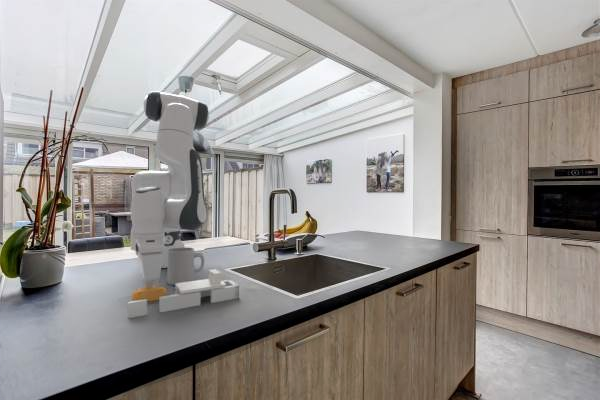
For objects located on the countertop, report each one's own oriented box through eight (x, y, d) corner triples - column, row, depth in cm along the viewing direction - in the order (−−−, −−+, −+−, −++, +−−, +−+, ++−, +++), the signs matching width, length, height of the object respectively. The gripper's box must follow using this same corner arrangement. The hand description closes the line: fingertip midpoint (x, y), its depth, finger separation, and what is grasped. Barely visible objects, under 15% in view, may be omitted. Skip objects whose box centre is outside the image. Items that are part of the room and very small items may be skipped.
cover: (175, 286, 86) (175, 272, 86) (217, 280, 92) (217, 267, 92) (181, 294, 79) (181, 279, 79) (226, 286, 86) (226, 273, 86)
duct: (126, 308, 79) (126, 294, 79) (230, 291, 94) (230, 279, 94) (128, 318, 73) (128, 303, 73) (239, 298, 88) (239, 285, 88)
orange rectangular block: (131, 300, 85) (131, 290, 85) (165, 295, 90) (166, 285, 90) (131, 304, 82) (132, 293, 82) (167, 298, 87) (167, 287, 87)
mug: (169, 286, 98) (169, 252, 98) (165, 280, 106) (165, 248, 105) (207, 281, 104) (207, 249, 104) (201, 275, 112) (201, 245, 111)
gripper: (132, 238, 96) (132, 282, 96) (139, 248, 79) (138, 301, 79) (154, 237, 99) (154, 279, 99) (165, 246, 82) (165, 297, 82)
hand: (147, 289), depth 89 cm, fingers closed
